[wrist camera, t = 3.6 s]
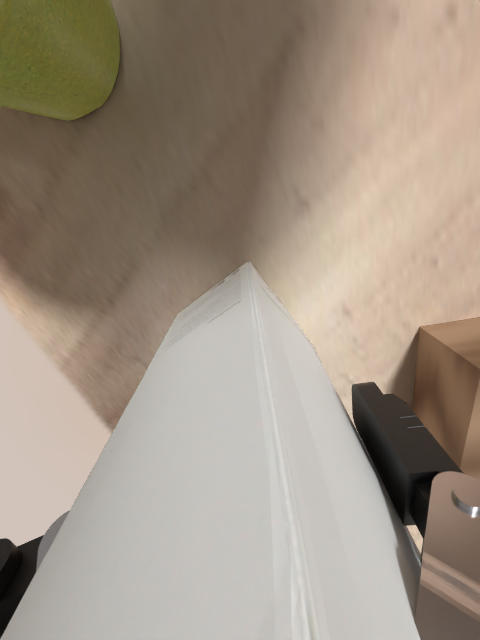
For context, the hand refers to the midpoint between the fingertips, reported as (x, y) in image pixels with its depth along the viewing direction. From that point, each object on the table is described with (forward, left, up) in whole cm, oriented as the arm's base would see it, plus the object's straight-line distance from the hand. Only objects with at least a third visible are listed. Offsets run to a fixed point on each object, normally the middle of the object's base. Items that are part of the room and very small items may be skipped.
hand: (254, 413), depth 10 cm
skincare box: (0, 0, -7) cm, 7 cm away
